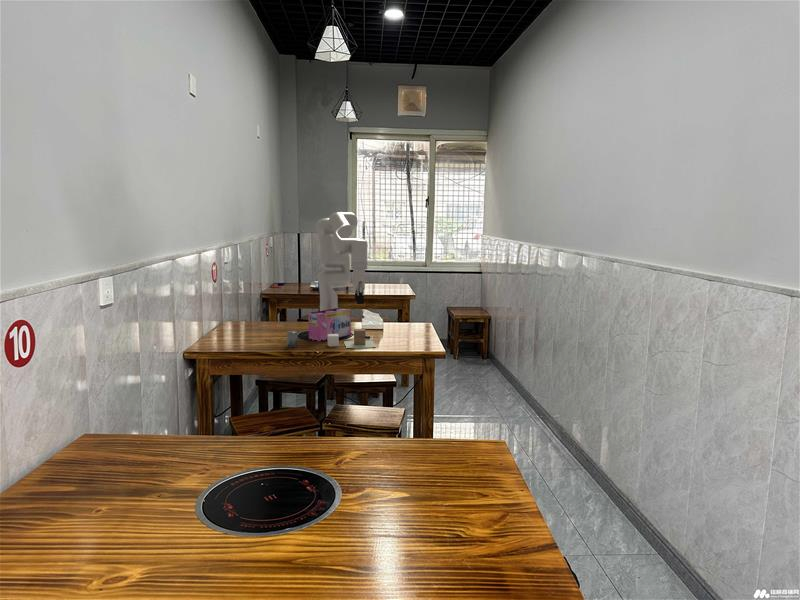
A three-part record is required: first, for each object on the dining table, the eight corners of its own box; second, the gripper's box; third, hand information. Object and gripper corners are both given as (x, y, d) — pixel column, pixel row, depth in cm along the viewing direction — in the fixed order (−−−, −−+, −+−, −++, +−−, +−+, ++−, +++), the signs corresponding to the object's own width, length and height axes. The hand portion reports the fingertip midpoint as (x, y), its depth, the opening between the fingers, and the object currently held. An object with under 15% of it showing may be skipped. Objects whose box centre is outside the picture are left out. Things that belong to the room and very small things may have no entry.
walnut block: (353, 343, 268) (353, 328, 267) (364, 342, 269) (364, 328, 268) (354, 345, 263) (354, 330, 262) (365, 345, 264) (365, 330, 263)
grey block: (327, 344, 267) (327, 334, 267) (338, 344, 268) (337, 333, 267) (328, 346, 262) (328, 336, 262) (338, 346, 263) (338, 335, 263)
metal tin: (287, 345, 264) (286, 330, 263) (297, 345, 265) (297, 330, 264) (286, 347, 259) (286, 333, 258) (297, 347, 260) (297, 332, 259)
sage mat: (343, 342, 271) (343, 341, 271) (372, 341, 274) (372, 340, 274) (346, 348, 258) (346, 347, 257) (376, 347, 260) (376, 346, 260)
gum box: (342, 332, 296) (342, 307, 294) (353, 334, 291) (353, 308, 289) (308, 339, 278) (307, 312, 276) (319, 341, 273) (318, 314, 271)
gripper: (349, 264, 269) (349, 299, 271) (353, 268, 252) (353, 305, 254) (365, 264, 270) (365, 299, 273) (369, 267, 253) (369, 305, 256)
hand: (359, 302), depth 264 cm, fingers open, 9 cm apart
